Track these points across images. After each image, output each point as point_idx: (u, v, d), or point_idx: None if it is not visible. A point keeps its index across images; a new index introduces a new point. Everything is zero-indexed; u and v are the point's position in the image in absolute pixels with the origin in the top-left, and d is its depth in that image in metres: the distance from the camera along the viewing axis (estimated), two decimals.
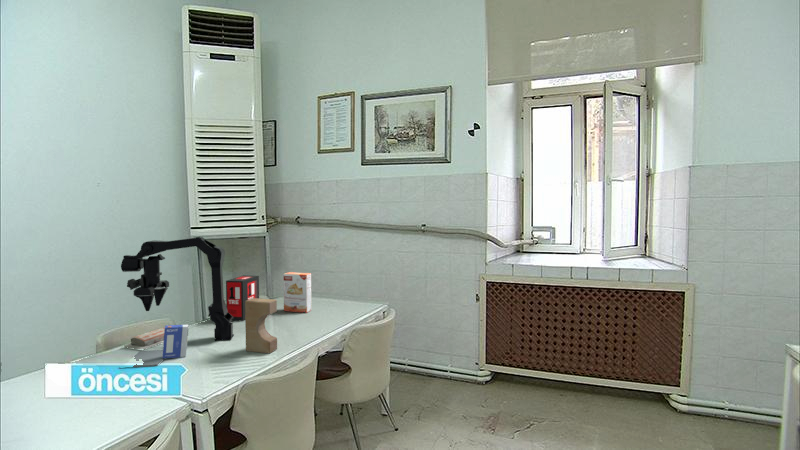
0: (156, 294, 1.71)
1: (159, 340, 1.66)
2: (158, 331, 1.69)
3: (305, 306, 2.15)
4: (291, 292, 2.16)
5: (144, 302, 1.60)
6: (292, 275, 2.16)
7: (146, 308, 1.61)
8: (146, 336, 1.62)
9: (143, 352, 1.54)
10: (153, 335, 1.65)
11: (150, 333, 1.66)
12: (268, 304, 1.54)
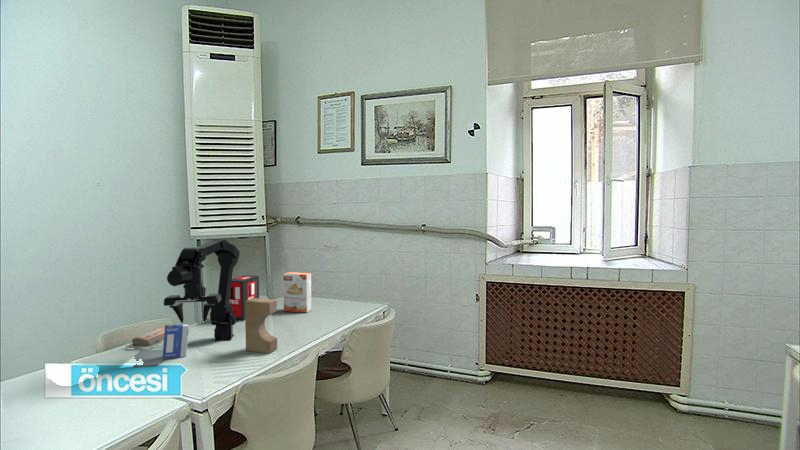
0: None
1: (160, 340, 1.66)
2: (157, 331, 1.69)
3: (305, 306, 2.15)
4: (291, 292, 2.16)
5: None
6: (292, 275, 2.16)
7: None
8: (149, 336, 1.63)
9: (143, 352, 1.54)
10: (155, 335, 1.65)
11: (150, 333, 1.66)
12: (268, 304, 1.54)
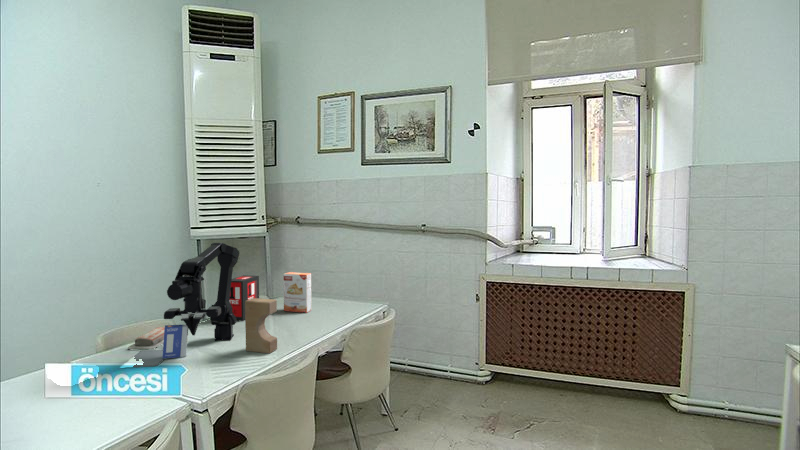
0: None
1: (162, 339, 1.67)
2: (157, 331, 1.69)
3: (305, 306, 2.15)
4: (291, 292, 2.16)
5: None
6: (292, 275, 2.16)
7: None
8: (151, 336, 1.63)
9: (143, 352, 1.54)
10: (156, 334, 1.65)
11: (151, 333, 1.66)
12: (268, 304, 1.54)
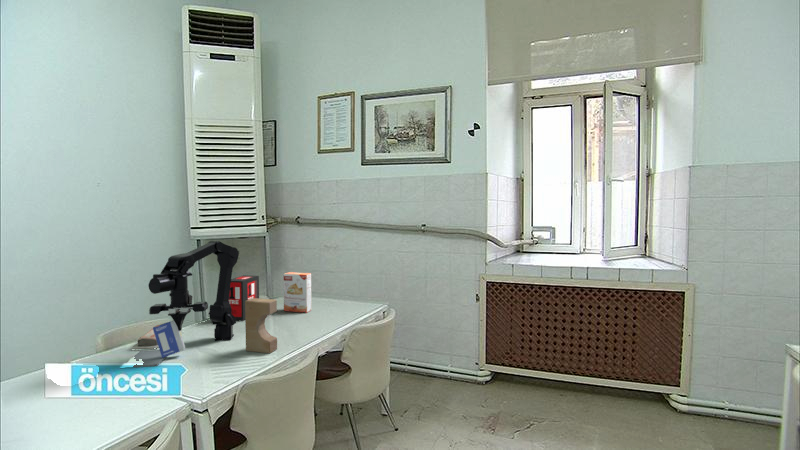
0: None
1: None
2: None
3: (305, 306, 2.15)
4: (291, 292, 2.16)
5: None
6: (292, 275, 2.16)
7: None
8: (154, 336, 1.63)
9: (143, 352, 1.54)
10: None
11: (151, 333, 1.66)
12: (268, 304, 1.54)
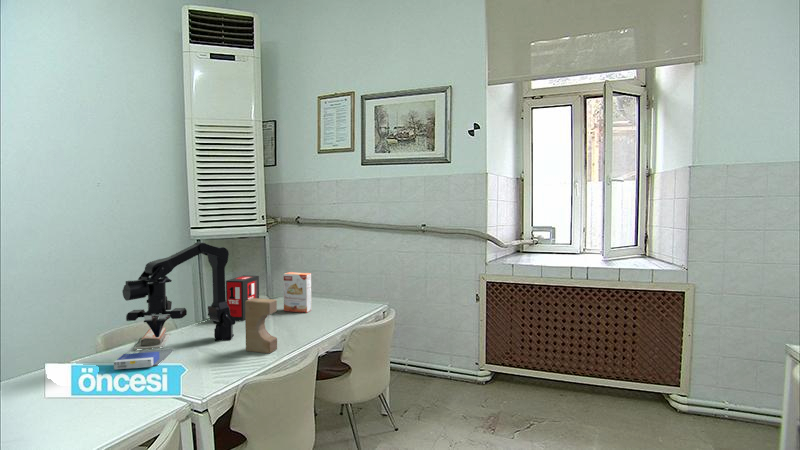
0: None
1: (163, 338, 1.68)
2: None
3: (305, 306, 2.15)
4: (291, 292, 2.16)
5: None
6: (292, 275, 2.16)
7: None
8: None
9: (143, 352, 1.54)
10: None
11: (152, 333, 1.66)
12: (268, 304, 1.54)
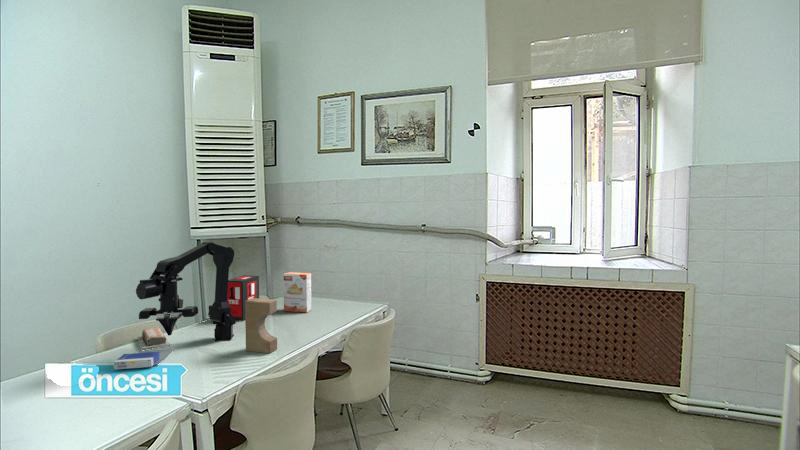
0: None
1: None
2: (153, 331, 1.69)
3: (305, 306, 2.15)
4: (291, 292, 2.16)
5: None
6: (292, 275, 2.16)
7: None
8: (160, 335, 1.65)
9: (143, 352, 1.54)
10: (160, 333, 1.67)
11: (153, 333, 1.66)
12: (268, 304, 1.54)
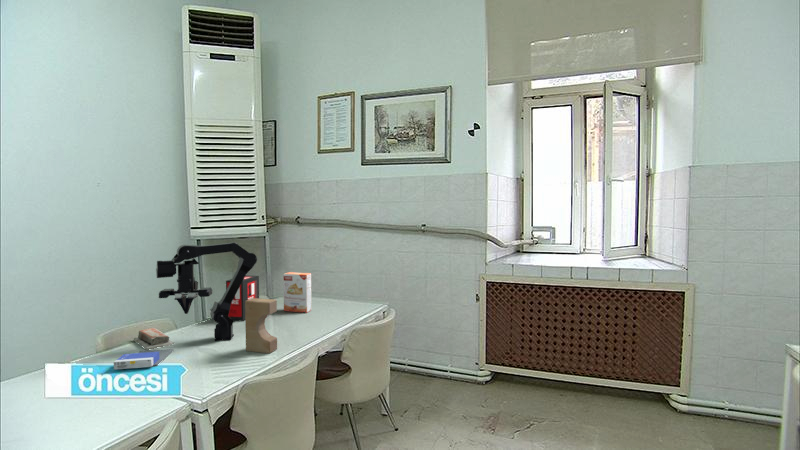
0: None
1: None
2: (153, 331, 1.69)
3: (305, 306, 2.15)
4: (291, 292, 2.16)
5: None
6: (292, 275, 2.16)
7: None
8: (162, 334, 1.66)
9: (143, 352, 1.54)
10: (161, 333, 1.68)
11: (154, 333, 1.66)
12: (268, 304, 1.54)
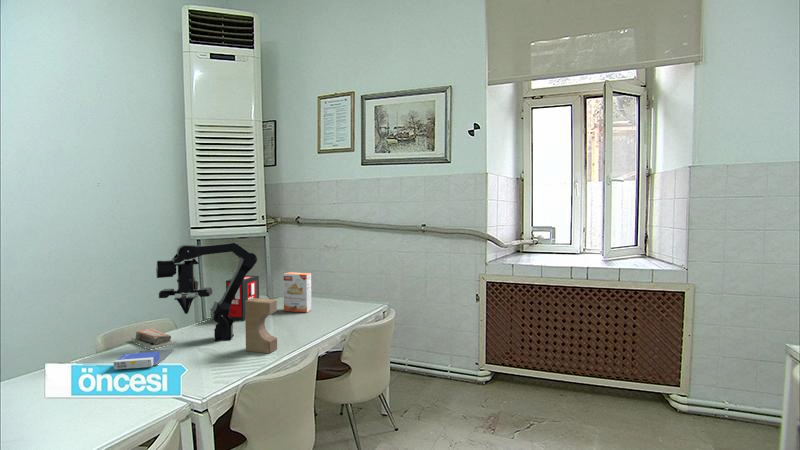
0: None
1: None
2: (152, 331, 1.68)
3: (305, 306, 2.15)
4: (291, 292, 2.16)
5: None
6: (292, 275, 2.16)
7: None
8: (163, 334, 1.66)
9: (143, 352, 1.54)
10: None
11: (154, 333, 1.66)
12: (268, 304, 1.54)
